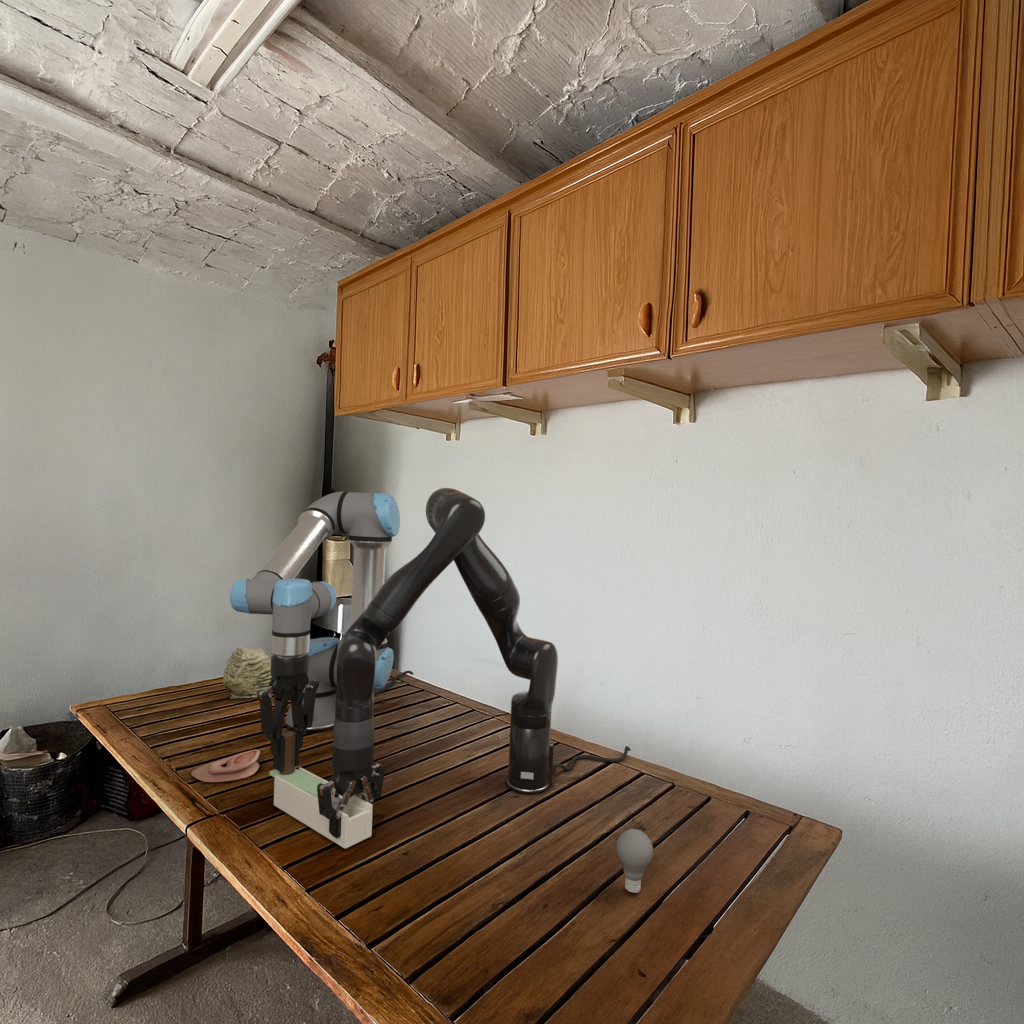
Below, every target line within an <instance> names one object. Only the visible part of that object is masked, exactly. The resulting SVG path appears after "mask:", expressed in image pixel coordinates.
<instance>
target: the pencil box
mask: <svg viewBox="0 0 1024 1024" xmlns="http://www.w3.org/2000/svg"><path fill="white" fill-rule="evenodd" d="M298 770H300V771H302V772H304V773H306V774H308V775H310V776H312V777H314V778H316V779H318V780H320V781H322V782H324V783H327V782H329V781H328V780H326V779H325V778H322V777H320V776H318V775H316V774H314V773H313V772H311V771H309V770H307V769H304V768H303V767H300V766H299V767H298ZM273 785H274V786H273V806H274V807H276V808H278V809H279V810H281V811H283V812H284V813H286V814H287V815H289V816H291V817H292V818H294V819H296V820H297V821H299V822H300V823H302V824H304V825H306V826H307V827H309V828H310V829H312V830H314V831H315V832H317V833H318V834H320V835H322V836H323V837H324V838H327V840H330V841H331V842H333V843H334V844H336V845H338V846H339V847H341V848H343V849H344V850H345V849H346V850H347V849H348V848H350V847H352V846H354V845H356V844H359V843H360V842H363V841H364V840H366V839H368V838H371V837H372V836H373V835H372V834H373V809H374V807H373V804H370V803H369V802H367V801H365V800H363V799H361V798H360V796H357V795H356V794H355V795H354V796H352V797H350V798H349V801H348V803H347V805H346V806H344V809H343V811H342V814H341V837H339V838H335V837H333V836H332V835H331V834H330V833H329V819H327V818H326V817H324V816H323V815H320V813H319V804H318V798H317V797H315V796H313V795H311V794H309V793H308V792H306V791H304V790H302V789H300V788H299V787H297V786H295V785H293V784H291V783H290V782H288V781H286V780H284V779H282V778H281V777H279V776H277V775H276V776H275V778H274V784H273ZM331 796H332V795H331ZM339 798H341V799H342V798H343V796H341V795H340V794H339ZM337 806H338V804H337ZM336 809H337V807H336Z"/></svg>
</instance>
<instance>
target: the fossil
mask: <svg viewBox="0 0 1024 1024" xmlns="http://www.w3.org/2000/svg"><path fill="white" fill-rule="evenodd" d="M270 670H271V657H270V656H269V655H268V654H267V653H266V652H265V650H264V649H263V648H260V647H258V648H251V647H247V646H246V647H245V646H238V647H237V648H236V649H235V650H233V651H232V653H231V656H230V657H229V659H228V660H227V663H226V666H225V668H224V671H223V675H222V676H223V677H222V685H223V687H224V688H225V690H226V691H228V693H229V698H230V699H250V698H258V697H257V691H259V690H261V691H263V690H264V689H266V688H267V687H268V686H269V683H270V680H271V672H270ZM272 696H275V695H274V694H273V692H272Z"/></svg>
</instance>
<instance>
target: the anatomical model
mask: <svg viewBox="0 0 1024 1024" xmlns="http://www.w3.org/2000/svg"><path fill="white" fill-rule="evenodd" d="M260 754H261V752H260V749H257V748H256V749H251V750H247V751H243V752H240V753H236V754H234V755H231V756H228V757H225V758H222V759H219V760H216V761H211V762H209V763H206V764H204V765H201V766H198V767H197V768H195V769H193V770H192V771H191V773H190V775H191V776H192V777H193V778H194V779H196V780H198V781H201V782H203V783H221V782H230V781H231V782H233V781H237V780H241V779H246V778H248V777H250V776H253V775H254V774H256V772H257V771H258V770H259V768H260V764H259V762H258V759H259V757H260Z"/></svg>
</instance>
